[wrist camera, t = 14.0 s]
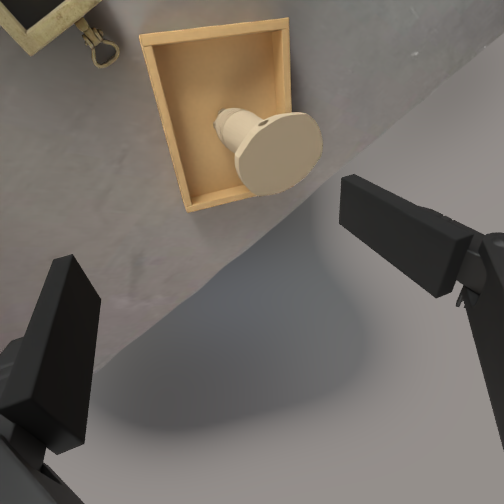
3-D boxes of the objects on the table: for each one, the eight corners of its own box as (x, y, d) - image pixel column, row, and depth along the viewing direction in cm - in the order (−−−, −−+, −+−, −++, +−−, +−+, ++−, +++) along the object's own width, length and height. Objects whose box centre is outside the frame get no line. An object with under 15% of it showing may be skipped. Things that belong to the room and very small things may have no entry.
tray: (138, 37, 26) (139, 34, 24) (276, 21, 29) (289, 17, 27) (183, 203, 36) (187, 213, 33) (283, 179, 38) (293, 186, 36)
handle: (260, 127, 33) (330, 161, 21) (213, 157, 33) (258, 208, 22) (240, 85, 30) (309, 97, 18) (190, 118, 30) (226, 152, 19)
